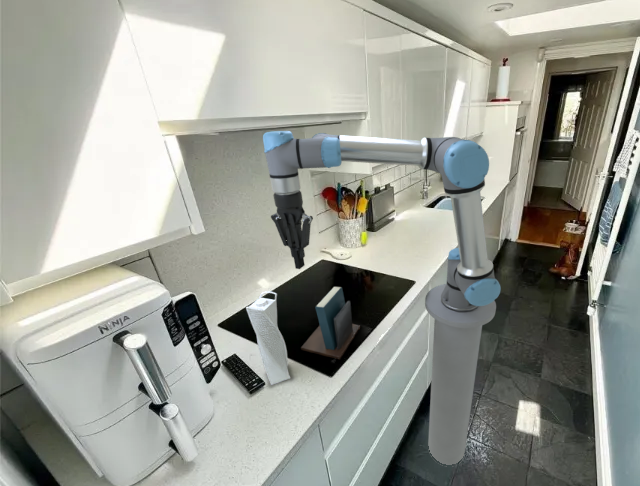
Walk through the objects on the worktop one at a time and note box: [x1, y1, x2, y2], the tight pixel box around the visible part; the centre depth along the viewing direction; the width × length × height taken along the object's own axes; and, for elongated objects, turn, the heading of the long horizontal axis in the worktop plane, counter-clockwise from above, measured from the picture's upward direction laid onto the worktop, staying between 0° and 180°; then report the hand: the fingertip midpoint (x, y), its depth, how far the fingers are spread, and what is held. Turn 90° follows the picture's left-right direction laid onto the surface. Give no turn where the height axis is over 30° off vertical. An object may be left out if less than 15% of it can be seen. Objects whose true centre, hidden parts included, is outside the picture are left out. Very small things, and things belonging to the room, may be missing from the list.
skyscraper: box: [245, 290, 291, 386], centre depth 84 cm, size 8×8×28 cm
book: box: [314, 286, 346, 350], centre depth 100 cm, size 3×12×16 cm, turn 160°
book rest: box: [300, 300, 361, 360], centre depth 101 cm, size 14×16×13 cm
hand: (300, 266), depth 95 cm, fingers closed
